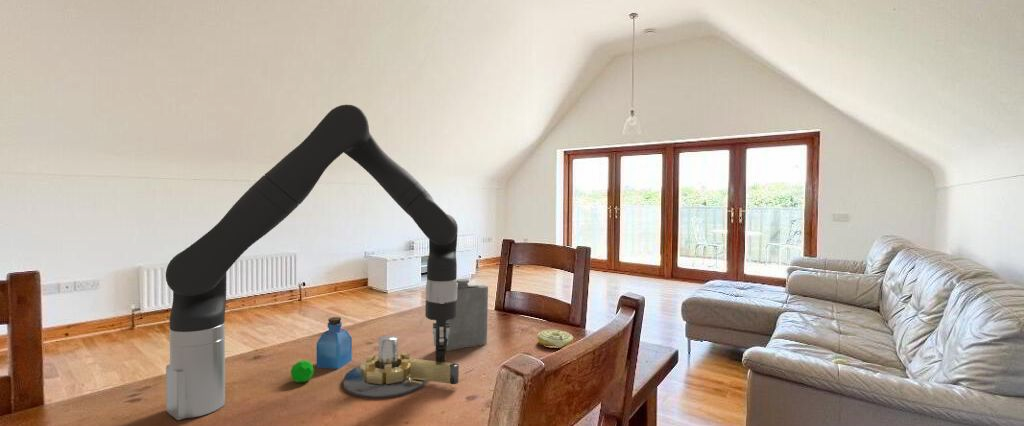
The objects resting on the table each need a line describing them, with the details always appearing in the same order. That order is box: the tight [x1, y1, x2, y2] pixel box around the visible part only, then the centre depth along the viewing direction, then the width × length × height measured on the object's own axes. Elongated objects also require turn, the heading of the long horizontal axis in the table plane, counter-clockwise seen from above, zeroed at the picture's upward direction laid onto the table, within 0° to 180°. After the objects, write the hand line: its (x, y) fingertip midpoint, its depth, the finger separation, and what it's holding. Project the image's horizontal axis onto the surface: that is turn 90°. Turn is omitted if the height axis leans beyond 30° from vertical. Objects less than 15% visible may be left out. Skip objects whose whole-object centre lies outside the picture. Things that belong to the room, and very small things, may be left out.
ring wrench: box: [360, 352, 460, 385], centre depth 106 cm, size 24×12×4 cm, turn 76°
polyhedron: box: [290, 359, 315, 384], centre depth 106 cm, size 5×5×5 cm
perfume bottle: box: [316, 316, 353, 370], centre depth 117 cm, size 6×6×12 cm
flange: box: [343, 334, 430, 399], centre depth 107 cm, size 20×20×10 cm
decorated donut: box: [537, 329, 574, 350], centre depth 136 cm, size 10×11×4 cm
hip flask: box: [446, 278, 489, 352], centre depth 132 cm, size 16×4×20 cm, turn 121°
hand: (440, 368), depth 108 cm, fingers closed
